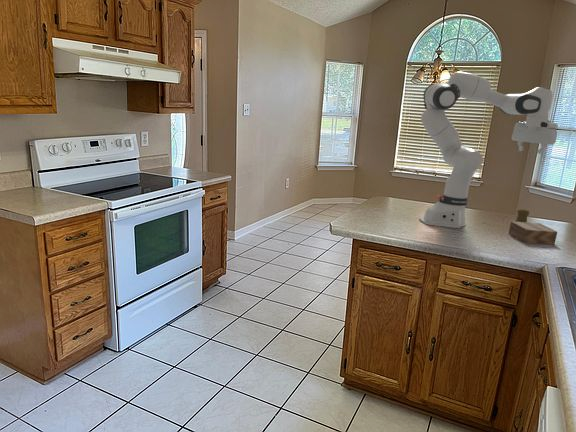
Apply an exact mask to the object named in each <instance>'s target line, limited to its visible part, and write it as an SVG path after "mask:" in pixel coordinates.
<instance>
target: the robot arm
mask: <svg viewBox="0 0 576 432" xmlns="http://www.w3.org/2000/svg"><path fill="white" fill-rule="evenodd" d="M422 95H423V97H422V98H423V104H424V106H423V107H424V108H425V110H424V111H423V112H422V114H421V117H420V121H421V123H422V125H423V128H424V130H425V131H426V132H427V134H428V135H429V136H430V138H431V139H432V140H433V142H434V143H435V145H437V147H438V148H439V151H440V152H441V154H442V158H443V161H444V162H445V163H446V165H448V166H450V167H452V168H453V169H452V171H451V173H450V175H449V176H448V177H447V178H446V180H445V185H444V191H443V194H442V195H441V194H437V195H436V198H437V199H439V200H438V201H437V202H435V203H434V204H432V205H430V206H428V207H427V208H426V210H425V213H424V215H421V216H419V221H420V222H422V224H425V225H428V226H436V227H443V228H444V227H445V228H453V229H460V228H463V227H465V226H466V225H467V224H466V208H467V206H468V200H469V199H468V196H469V195H468V194H469V189H470V184H471V182H472V179H473V177H474V175H475V173H476V171H477V170H479V169H480V168H481V166H482V165H483V160H484V158H483V155H482V154H481V152H479V151H478V150H476V149H475V148H471V147H468V146H466V145H464V144H463V143H462V141H461V138H460V133H459V131H458V130H457V129H456V127H455V126H454V124H453V123H452V122H451V120H450V118H448V116H447V115H446V111H445V110H449V109H451V108H452V107H454V106H455V104H456V103H457V101H458V99H459V98H463V99H466V100H468V101H471V102H472V101H473V102H478V103H481V102H483V103H486V104H489V105H492V106H495V107H496V108H498V109H499V110H500V111H501V112H502V113H503V114H504V115H508V116H511V115H515V116H516V115H520V116H523V115H527V116H526V118H525V119H526V120H525V121H523V122H522V121H519V122H516V123H515V124H514V128H513V131H512V134H511V140H512V141H516V142H517V146H518V151H519V152H524V151H525V150H524V149H525V147H524V146H523V143H531V144H538V145H539V144H540V148H539V149H537V154H543V150H544V149H546V148H547V145H549V146H553V145H555V144H556V141H557V138H558V130H557V128H558V126H559V125H558V124H557V122H553V121H551V120H549V112H550V110H551V107H552V102H553V101H552V100H553V91H552V90H551V88H547V87H542V86H537V87H535V88H533V89H532V90H529V91H527V92H523V93H506V94H504V93H501V92H498V91H496V90H493V89H492V84H491V81H489V80H488V79H486V78H484V77H482V76H480V75H477V74H474V73H471V72H470V73H469V72H464V71H456V72H454V73H452V74H451V76H450V77H449V78H448V81H447V82H446V83H444V84H443V83H433V84H430V85H429V86H427V87H426V88H425V89H424V91H423V94H422Z"/></svg>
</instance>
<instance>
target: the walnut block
mask: <svg viewBox="0 0 576 432" xmlns="http://www.w3.org/2000/svg"><path fill="white" fill-rule="evenodd" d="M508 229H509V231H508V234H509V235H511V236H512V237H514V238H516V239H517V240H519V241H520V242H522V243H525V244H526V243H527V244H541V245H555V244H556V239H557V235H558V231H557V230H554V229H552V228H550V227H549V226H546V225H545V224H542V223H541V222H528V221H527V222H515V221H510V225H509V228H508Z"/></svg>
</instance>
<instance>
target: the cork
mask: <svg viewBox="0 0 576 432" xmlns="http://www.w3.org/2000/svg"><path fill="white" fill-rule="evenodd" d="M516 211H517V212H516V214H517V217H516V219H515V221H514V222H528V217H529V215H530V211H529V209H526V208H519V209H517V210H516Z"/></svg>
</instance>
